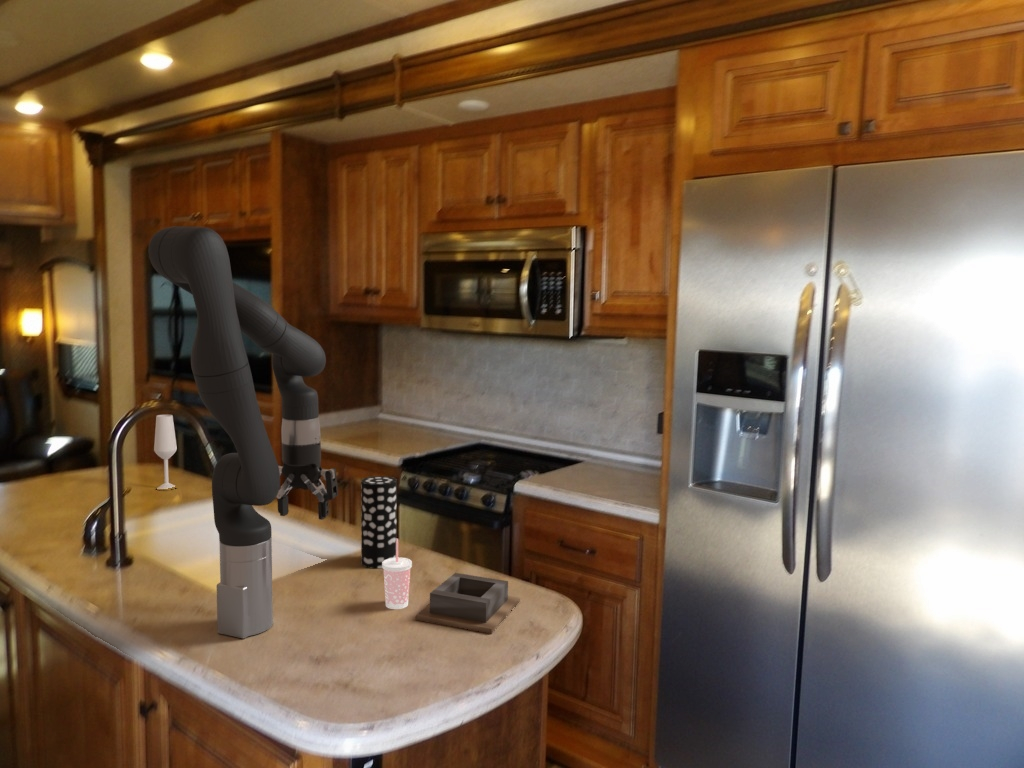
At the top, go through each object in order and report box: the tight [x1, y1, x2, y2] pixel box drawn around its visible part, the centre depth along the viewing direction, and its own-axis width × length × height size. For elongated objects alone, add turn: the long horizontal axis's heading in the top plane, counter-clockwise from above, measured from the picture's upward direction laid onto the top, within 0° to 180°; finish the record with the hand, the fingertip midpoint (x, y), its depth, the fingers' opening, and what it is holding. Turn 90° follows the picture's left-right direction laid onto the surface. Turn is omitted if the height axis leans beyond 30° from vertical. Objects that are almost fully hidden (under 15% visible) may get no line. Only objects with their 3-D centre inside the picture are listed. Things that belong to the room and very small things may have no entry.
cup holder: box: [415, 572, 521, 635], centre depth 147 cm, size 16×16×5 cm
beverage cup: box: [381, 538, 413, 610], centre depth 149 cm, size 6×6×14 cm
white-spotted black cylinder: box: [360, 475, 398, 569], centre depth 173 cm, size 8×8×20 cm
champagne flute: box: [153, 414, 178, 489], centre depth 236 cm, size 7×7×24 cm
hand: (303, 516), depth 149 cm, fingers open, 8 cm apart
